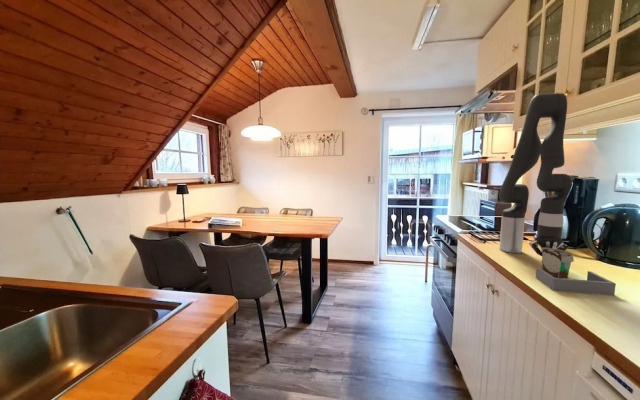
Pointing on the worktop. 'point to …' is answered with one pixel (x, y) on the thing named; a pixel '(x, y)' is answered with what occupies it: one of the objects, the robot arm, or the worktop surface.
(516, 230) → the robot arm
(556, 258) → the food container
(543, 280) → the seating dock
